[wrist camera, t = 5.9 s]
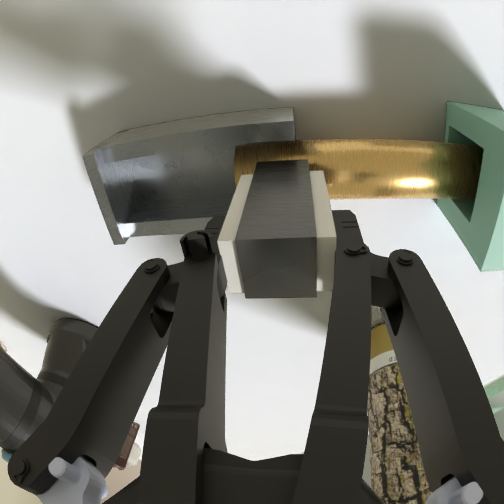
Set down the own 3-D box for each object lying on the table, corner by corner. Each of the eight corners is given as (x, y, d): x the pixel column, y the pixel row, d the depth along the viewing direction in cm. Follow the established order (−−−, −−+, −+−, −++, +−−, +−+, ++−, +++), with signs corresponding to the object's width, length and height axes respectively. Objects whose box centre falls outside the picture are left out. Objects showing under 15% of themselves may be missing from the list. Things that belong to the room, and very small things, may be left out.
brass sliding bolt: (248, 188, 24) (214, 306, 14) (240, 137, 22) (193, 230, 12) (486, 186, 21) (568, 283, 11) (493, 141, 18) (593, 224, 9)
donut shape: (128, 435, 71) (122, 455, 65) (149, 452, 79) (144, 471, 74) (86, 423, 73) (79, 442, 68) (109, 442, 82) (104, 459, 76)
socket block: (436, 204, 24) (480, 271, 17) (447, 101, 19) (513, 137, 11) (489, 205, 23) (539, 266, 16) (504, 110, 18) (573, 150, 10)
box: (122, 417, 61) (107, 461, 52) (140, 424, 62) (126, 469, 53) (119, 422, 65) (105, 464, 55) (135, 430, 66) (123, 471, 56)
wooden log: (364, 319, 33) (381, 557, 13) (420, 317, 32) (460, 538, 12) (355, 355, 37) (362, 556, 17) (406, 352, 36) (428, 543, 16)
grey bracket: (141, 208, 28) (113, 244, 23) (119, 132, 23) (82, 156, 19) (299, 197, 25) (300, 236, 21) (292, 107, 21) (293, 124, 17)
